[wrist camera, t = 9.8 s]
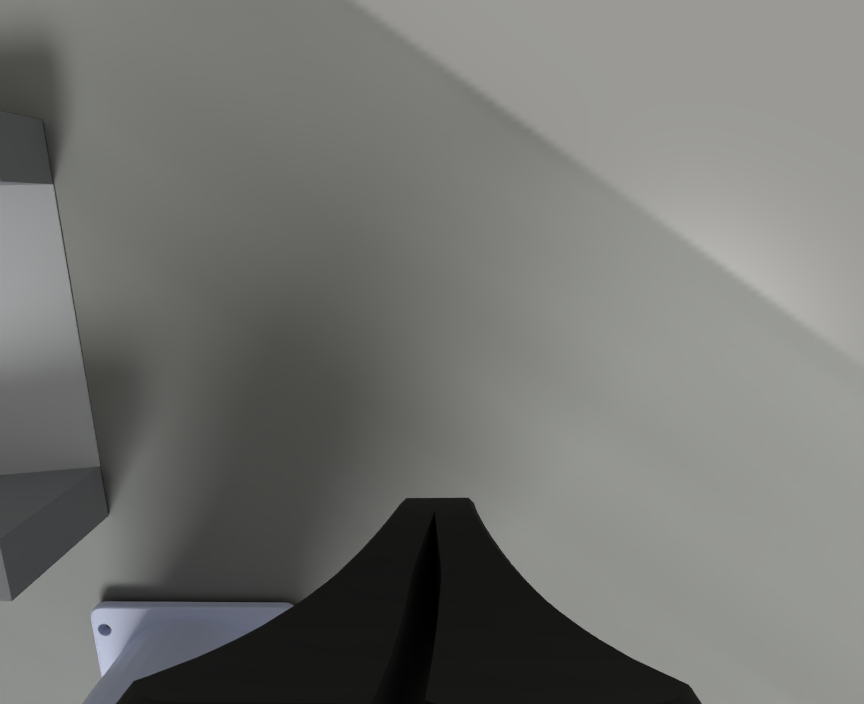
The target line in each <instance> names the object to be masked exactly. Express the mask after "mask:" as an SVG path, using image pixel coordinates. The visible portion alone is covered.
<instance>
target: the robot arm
mask: <svg viewBox="0 0 864 704" xmlns="http://www.w3.org/2000/svg"><path fill="white" fill-rule="evenodd" d="M91 622H92V627H93V633H94V638H95V644H96V649H97V655H98V660H99V666H100V671H101V677H102V678H101V680H100V681H99V682H98V684H97V685H96V686H95V688H94V689H93V690H92V691H91V693H90V694H89V695H88V697H87V698H86V699H85V701H84V702H83V703H82V704H701V702H700V701H699V699H698V698H697V696H696V695H695V693H694V692H693V690H692V688H691V687H690V686H689V685H688V684H686V683H683V682H681V681H679V680H677V679H675V678H673V677H671V676H668V675H666V674H664V673H662V672H660V671H658V670H656V669H653V668H651V667H649V666H647V665H645V664H643V663H640V662H638V661H636V660H634V659H632V658H630V657H629V656H627V655H625V654H623V653H622V652H620V651H618V650H616V649H615V648H613V647H611V646H610V645H608V644H606V643H604V642H603V641H601V640H599V639H598V638H596V637H595V636H593V635H592V634H590V633H589V632H587V631H585V630H584V629H583V628H581V627H580V626H578V625H577V624H576V623H574V622H573V621H572V620H570V619H569V618H568V617H566V616H565V615H564V614H562V613H561V612H559V611H558V610H557V609H556V608H555V607H553V606H552V605H551V604H550V603H548V602H547V601H546V600H545V599H544V598H543V597H542V596H541V595H540V594H539V593H538V592H537V591H536V590H535V589H534V588H533V587H532V586H531V585H530V584H529V583H528V582H527V581H526V580H525V579H524V578H523V577H522V576H521V574H520V573H519V572H518V571H517V570H516V569H515V567H514V566H513V565H512V564H511V563H510V561H509V560H508V559H507V558H506V556H505V555H504V554H503V552H502V551H501V550H500V548H499V547H498V545H497V544H496V542H495V541H494V540H493V538H492V537H491V535H490V534H489V532H488V531H487V529H486V527H485V526H484V524H483V522H482V520H481V519H480V517H479V515H478V513H477V510H476V508H475V505H474V503H473V502H472V501H471V500H470V499H469V498H406V499H405V500H404V501H403V502H402V503H401V504H400V505H399V507H398V508H397V509H396V510H395V512H394V513H393V514H392V516H391V517H390V518H389V519H388V521H387V522H386V523H385V524H384V525H383V527H382V528H381V529H380V530H379V531H378V532H377V533H376V535H375V536H374V537H373V538H372V539H371V540H370V541H369V542H368V543H367V545H366V546H365V547H364V548H363V549H362V550H361V551H360V552H359V553H358V554H357V555H356V556H355V557H354V558H353V559H352V560H351V561H350V562H349V563H348V564H347V565H346V566H345V567H343V568H342V569H341V570H340V571H339V572H338V573H337V574H336V575H335V576H334V577H332V578H331V579H330V580H329V581H328V582H326V583H325V584H324V585H322V586H321V587H320V588H318V589H317V590H316V591H314V592H313V593H312V594H310V595H309V596H308V597H306V598H305V599H304V600H302V601H301V602H299V603H298V604H296V605H292V604H290V603H285V602H130V601H105V602H101V603H99V604H98V605H97V606H96V607H95V608H94V609H93V611H92V612H91ZM105 624H106V625H108V626H109V627H110V628H111V629H110V628H107V627H106V626H105Z"/></svg>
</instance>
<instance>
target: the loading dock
mask: <svg viewBox="0 0 864 704" xmlns="http://www.w3.org/2000/svg"><path fill="white" fill-rule="evenodd" d="M100 466H101V465H100V459H99V453H98V447H97V441H96V435H95V429H94V423H93V417H92V411H91V405H90V399H89V393H88V387H87V381H86V375H85V369H84V363H83V357H82V351H81V345H80V339H79V333H78V327H77V321H76V315H75V309H74V303H73V297H72V291H71V285H70V279H69V273H68V267H67V261H66V255H65V249H64V243H63V237H62V231H61V225H60V219H59V214H58V208H57V202H56V196H55V190H54V184H53V182H52V176H51V170H50V164H49V158H48V152H47V146H46V140H45V134H44V128H43V122H42V120H41V119H37V118H32V117H27V116H22V115H17V114H13V113H8V112H3V111H0V601H12V600H14V599H15V598H16V597H17V596H18V595H19V594H20V593H21V592H23V591H24V590H25V589H26V588H27V587H28V586H29V585H31V584H32V583H33V582H34V581H35V580H36V579H37V578H38V577H40V576H41V575H42V574H43V573H44V572H45V571H46V570H48V569H49V568H50V567H51V566H52V565H53V564H54V563H55V562H57V561H58V560H59V559H60V558H61V557H62V556H63V555H65V554H66V553H67V552H68V551H69V550H70V549H71V548H72V547H74V546H75V545H76V544H77V543H78V542H79V541H80V540H82V539H83V538H84V537H85V536H86V535H87V534H88V533H89V532H91V531H92V530H93V529H94V528H95V527H96V526H97V525H99V524H100V523H101V522H102V521H103V520H104V519H105V518H106V517H108V510H107V504H106V498H105V492H104V486H103V480H102V475H101V469H100Z"/></svg>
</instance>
